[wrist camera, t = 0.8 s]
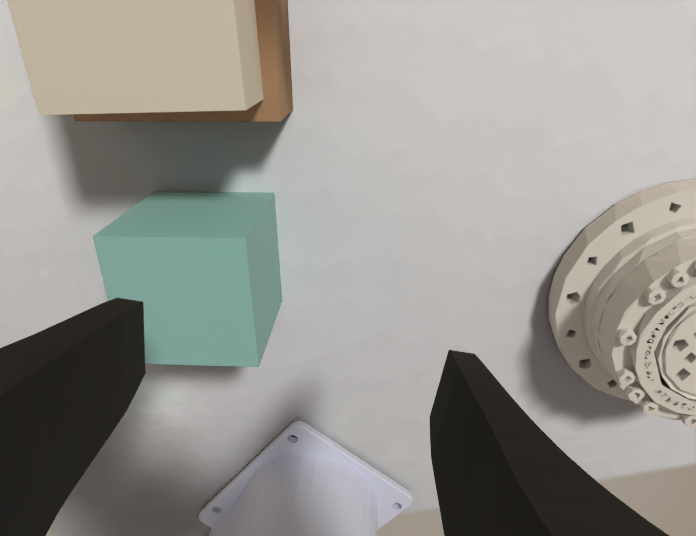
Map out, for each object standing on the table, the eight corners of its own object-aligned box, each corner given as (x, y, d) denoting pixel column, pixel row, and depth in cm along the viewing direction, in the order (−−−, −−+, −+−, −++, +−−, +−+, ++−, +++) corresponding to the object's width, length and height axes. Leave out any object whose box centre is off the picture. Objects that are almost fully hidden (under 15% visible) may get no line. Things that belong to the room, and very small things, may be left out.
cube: (282, 299, 23) (258, 366, 18) (173, 297, 23) (123, 363, 18) (274, 192, 21) (245, 238, 16) (154, 191, 21) (92, 236, 16)
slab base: (294, 108, 19) (280, 121, 17) (116, 108, 20) (74, 120, 17) (283, -116, 16) (264, -145, 14) (74, -111, 17) (14, -138, 14)
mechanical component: (500, 278, 22) (618, 417, 25) (527, 334, 18) (663, 491, 21) (727, 122, 19) (832, 302, 21) (822, 147, 15) (936, 365, 17)
